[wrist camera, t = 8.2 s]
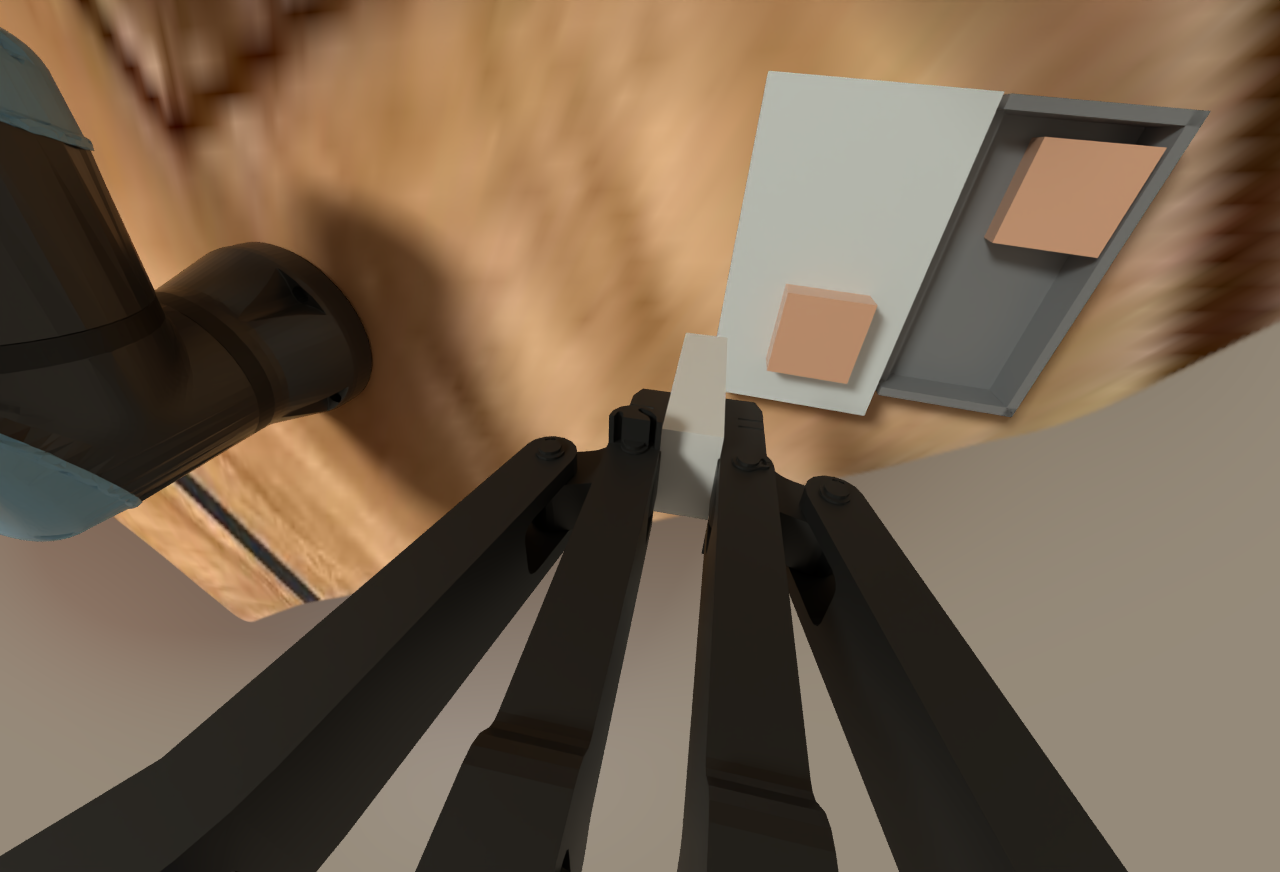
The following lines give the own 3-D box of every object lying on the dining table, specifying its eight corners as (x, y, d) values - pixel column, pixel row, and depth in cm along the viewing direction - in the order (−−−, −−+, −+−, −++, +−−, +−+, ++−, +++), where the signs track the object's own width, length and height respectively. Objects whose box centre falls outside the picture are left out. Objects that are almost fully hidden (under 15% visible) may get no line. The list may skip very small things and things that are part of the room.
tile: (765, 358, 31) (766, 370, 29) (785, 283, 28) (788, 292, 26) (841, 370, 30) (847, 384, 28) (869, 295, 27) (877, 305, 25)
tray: (868, 376, 33) (878, 394, 31) (984, 98, 24) (1010, 93, 22) (991, 396, 32) (1011, 417, 30) (1161, 114, 23) (1210, 111, 21)
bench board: (710, 368, 35) (706, 388, 33) (766, 78, 25) (768, 70, 23) (854, 392, 34) (864, 415, 31) (974, 97, 24) (1004, 91, 21)
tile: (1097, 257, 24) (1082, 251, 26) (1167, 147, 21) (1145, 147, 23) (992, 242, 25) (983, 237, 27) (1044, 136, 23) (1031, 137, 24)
